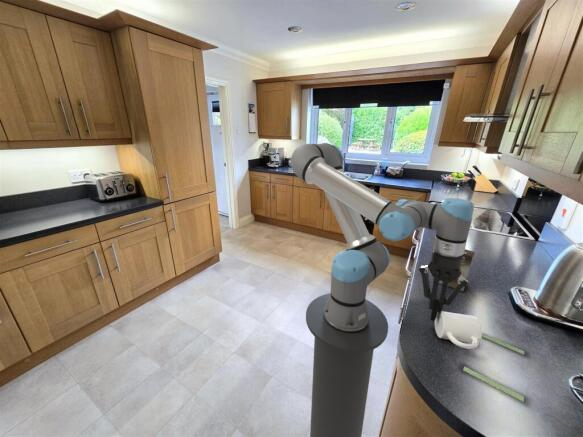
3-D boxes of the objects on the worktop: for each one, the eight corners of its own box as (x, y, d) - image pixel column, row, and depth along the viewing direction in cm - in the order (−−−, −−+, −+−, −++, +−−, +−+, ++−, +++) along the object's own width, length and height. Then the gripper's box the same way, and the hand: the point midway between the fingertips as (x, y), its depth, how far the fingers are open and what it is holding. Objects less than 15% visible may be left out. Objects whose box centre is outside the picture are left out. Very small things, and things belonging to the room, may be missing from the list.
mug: (432, 325, 81) (437, 305, 78) (466, 331, 79) (472, 310, 76) (444, 354, 70) (450, 332, 67) (484, 362, 67) (492, 339, 65)
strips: (463, 370, 65) (463, 369, 65) (474, 330, 79) (474, 330, 78) (523, 402, 57) (523, 401, 57) (523, 351, 71) (524, 351, 71)
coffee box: (438, 283, 105) (445, 249, 100) (441, 277, 109) (449, 244, 104) (463, 291, 99) (472, 256, 94) (466, 285, 103) (475, 251, 98)
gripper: (420, 250, 72) (408, 315, 79) (472, 263, 63) (454, 335, 71) (427, 242, 77) (416, 304, 84) (476, 254, 69) (459, 321, 76)
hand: (433, 318), depth 78 cm, fingers closed
